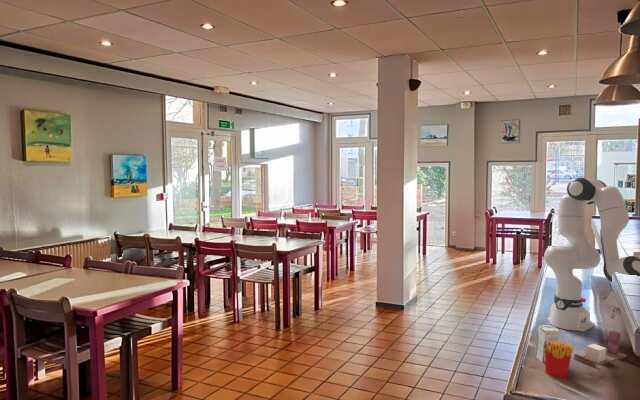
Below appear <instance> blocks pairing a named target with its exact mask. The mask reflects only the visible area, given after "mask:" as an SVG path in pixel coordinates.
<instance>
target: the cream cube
mask: <svg viewBox="0 0 640 400" xmlns="http://www.w3.org/2000/svg"><path fill="white" fill-rule="evenodd" d="M606 348H607V347H604V346H601V345H598V344H596V343H592V344H587V345H586V351H585V355H586V358H588V359H591V360H593V361H596V362H601V361H604V360H605V354H606Z"/></svg>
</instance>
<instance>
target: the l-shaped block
mask: <svg viewBox="0 0 640 400" xmlns="http://www.w3.org/2000/svg"><path fill="white" fill-rule="evenodd" d="M621 333H622V332H620V331H617V330H614V329H613V330H609V332H608V341H607V342H608V343H607V347H605V348H606V354H605V360H604V361H601V362H596V361H593V360H591V359H588V358H586V354H585V355H580V354H577V353H574V357H573V360H576V361H578V362H581V363H583V364H586V365H587V366H590V367H593V368H595V367H599V366H600V365H603V364H605V363H608V362H611V361H614V360H619V361H621V360H623V359H626V358H627V354H625V353H622V352H619V351H620V342H621ZM625 357H626V358H625ZM620 359H621V360H620Z"/></svg>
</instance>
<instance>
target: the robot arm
mask: <svg viewBox="0 0 640 400" xmlns="http://www.w3.org/2000/svg"><path fill="white" fill-rule="evenodd" d="M566 192H567V193H566V194H564V195H562V196H561V197H560V199H559V204H558V220H557V221H558V233H559V235H561V236H562V237H563V238H565V239H567V241H568V243H569V245H554V246H549V247H547V248H546V250H545V251H544V253H543V254H544V255H543V259H544V262H545V264H546V265H547V266H548V267H549V268H550V269H551V270H552V272H553V273H554V275H555V276H554V277H555V280H556V281H555V294H554V297H553V303H552V304H551V308H550V313H549V316H548V317H547V321H548V322H549V324H550V326H554V327H555V328H557V329H562V330H568V331H577V332H578V331H579V332H586V331H588V330H590V329H591V328H593V327H594V326H596V323H595V322H594V321H592V320H590V319H591V313H590V311H589V310H587V308H586V307H584V304H583V303H586V302H587V298H586V297H582V293H583V283H582V281H581V279H580V278H578V277H577V276H575V275H574V274H573V270H587V269H589V270H590V269H593V268H597V267H598V266H599V264H600V262H601V254H600V252H599V250H598V249H597V248H595V247H594V246H593V245H592V243H590V241H589V239H588V237H587V234H586V230H585V207H586V205H593V204H595V205H596V207H597V212H598V215H599V219H600V232H599V235H600V244H601V250H602V257H603V267H602V269H603V275H604V276H605V278H606V279H607V280H608V281H610V283H613V282H612V274H613V273H614V272H618V273H622V274H627V275H637V276H640V257H638V256H635V255H627V256H625V257H621V258H620V255H619V249H618V237H619V235H620V234H621V232H623V230H624V229H625V228H626V227H627V226H628V224H629V221H630V219H629V217H630V216H629V211H628V209H627V206H626V202H625V200H624V197H623V196H622V195H623V194H622V193H621V192H620V190H619V188H617V187H615V186H612V185H611V186H607V184H606V183H605V182H603V181H602V180H599V179H596V178H592V177H587V178H586V177H576V178H573V179H571V180H570V181H569V182H568V184H567V186H566ZM604 305H605V307H606V308H607V309H610V314H609V317H610V319H612V320H613V319H615V318H616V317H617V315H616V312H620V308H619V305H618V302H617V299H616V295H615V292H614V290H611V292H610V293H609V295H608V296H607V297H606V298H605V300H604Z"/></svg>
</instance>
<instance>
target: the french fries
mask: <svg viewBox="0 0 640 400" xmlns="http://www.w3.org/2000/svg"><path fill="white" fill-rule="evenodd" d="M546 347H547V349H546V350H545V362H546V363H545V373H546V374H547V375H549V376H553V377H557V378H563V379H565V378H566V379H567V377H568V371H569V367H570V363H571V359H572V355H573V351H574V347H573V346H571V345H569V344H567V343H565V342H562V341H560V342H558V343H557V342H555V343H554V342H550V345H548V342H546Z"/></svg>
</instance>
